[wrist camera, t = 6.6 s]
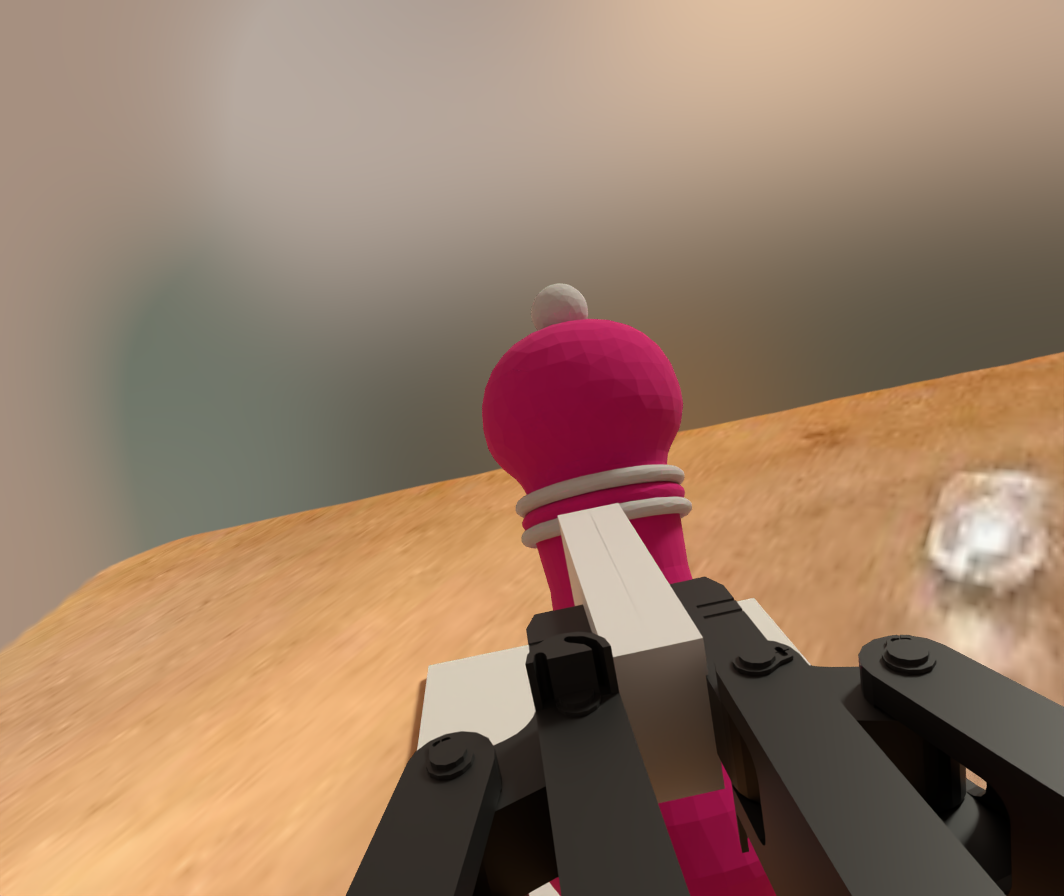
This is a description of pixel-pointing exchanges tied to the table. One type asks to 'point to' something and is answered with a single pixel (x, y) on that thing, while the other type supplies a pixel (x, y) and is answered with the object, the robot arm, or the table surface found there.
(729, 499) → the table surface
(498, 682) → the grey rubber mat
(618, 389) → the pepper mill
